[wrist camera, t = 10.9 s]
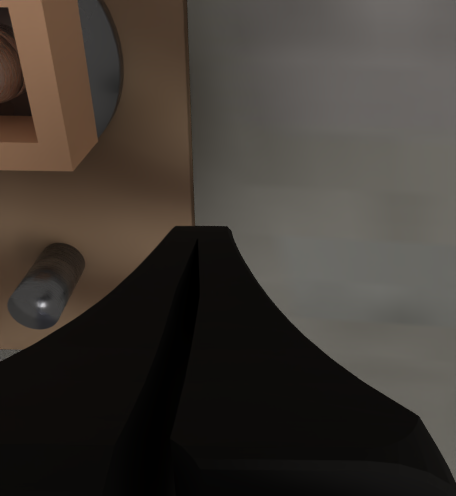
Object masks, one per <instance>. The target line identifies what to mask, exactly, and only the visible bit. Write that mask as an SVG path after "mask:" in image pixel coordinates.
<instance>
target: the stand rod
mask: <svg viewBox="0 0 456 496" xmlns="http://www.w3.org/2000/svg"><path fill="white" fill-rule="evenodd" d="M84 269H85V260H84V257H83V255H82V254H81V253H80V252H79V251H78V250H77V249H76V248H75V247H73V246H71V245H69V244H65V243H53V244H50V245H48V246H46V247H45V248H44V250H43V251H42V252H41V254H40V255H39V257H38V258H37V260H36V261H35V262H34V264H33V265H32V267H31V268H30V269H29V271H28V272H27V274H26V275H25V277H24V278H23V279H22V281H21V282H20V284H19V285H18V287H17V288H16V289H15V291H14V292H13V294H12V295H11V297H10V298H9V300H8V304H7V306H8V311H9V313H10V315H11V316H12V317H13V318H14V320H16V321H17V322H18V323H20V324H21V325H23V326H25V327H28V328H31V329H38V330H41V329H47V328H50V327H52V326H54V325H55V324H56V323H57V322H58V320H59V318H60V316H61V314H62V312H63V310H64V308H65V306H66V304H67V302H68V300H69V298H70V296H71V295H72V293H73V291H74V289H75V287H76V285H77V283H78V281H79V279H80V277H81V275H82V273H83V271H84Z"/></svg>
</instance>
